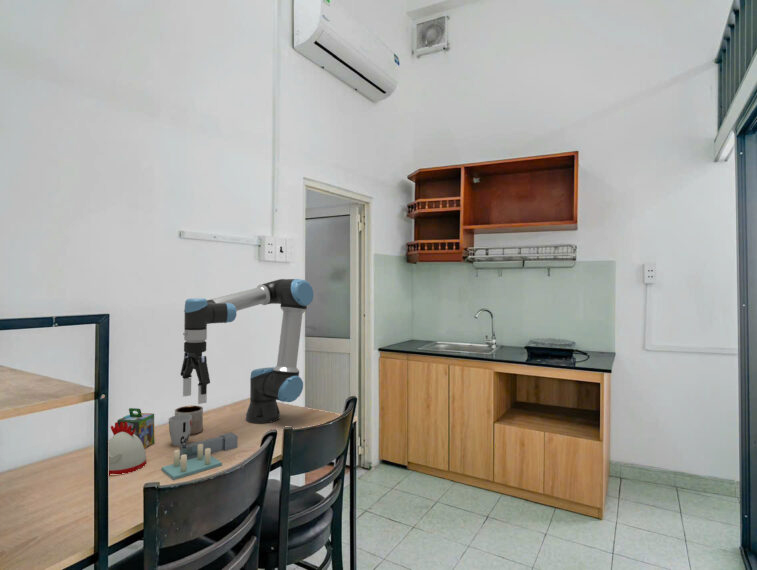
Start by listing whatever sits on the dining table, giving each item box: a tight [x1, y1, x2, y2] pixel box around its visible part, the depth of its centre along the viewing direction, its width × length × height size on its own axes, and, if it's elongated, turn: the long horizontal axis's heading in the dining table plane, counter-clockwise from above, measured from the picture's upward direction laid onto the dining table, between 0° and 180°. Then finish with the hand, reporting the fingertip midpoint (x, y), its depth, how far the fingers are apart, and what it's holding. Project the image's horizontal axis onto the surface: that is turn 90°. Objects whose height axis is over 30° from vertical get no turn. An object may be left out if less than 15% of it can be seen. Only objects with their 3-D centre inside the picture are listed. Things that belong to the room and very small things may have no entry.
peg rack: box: [161, 444, 223, 481], centre depth 147 cm, size 16×10×6 cm, turn 136°
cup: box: [168, 415, 192, 447], centre depth 169 cm, size 8×8×10 cm
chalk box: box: [116, 407, 155, 449], centre depth 165 cm, size 9×9×15 cm
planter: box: [174, 405, 204, 437], centre depth 182 cm, size 11×11×10 cm
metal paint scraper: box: [179, 432, 239, 461], centre depth 161 cm, size 20×5×6 cm, turn 136°
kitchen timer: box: [108, 421, 147, 476], centre depth 147 cm, size 14×14×15 cm
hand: (194, 399), depth 160 cm, fingers open, 13 cm apart
